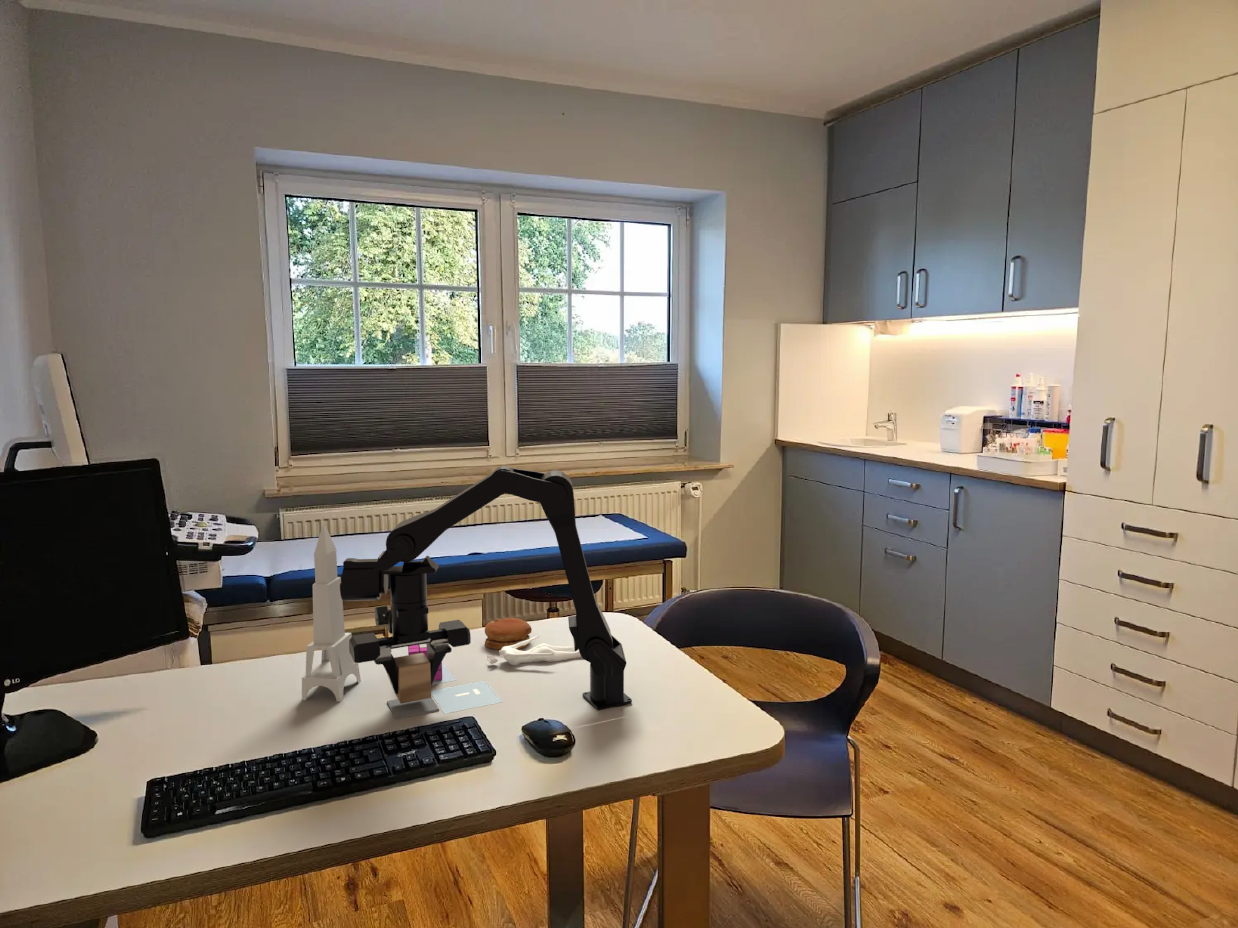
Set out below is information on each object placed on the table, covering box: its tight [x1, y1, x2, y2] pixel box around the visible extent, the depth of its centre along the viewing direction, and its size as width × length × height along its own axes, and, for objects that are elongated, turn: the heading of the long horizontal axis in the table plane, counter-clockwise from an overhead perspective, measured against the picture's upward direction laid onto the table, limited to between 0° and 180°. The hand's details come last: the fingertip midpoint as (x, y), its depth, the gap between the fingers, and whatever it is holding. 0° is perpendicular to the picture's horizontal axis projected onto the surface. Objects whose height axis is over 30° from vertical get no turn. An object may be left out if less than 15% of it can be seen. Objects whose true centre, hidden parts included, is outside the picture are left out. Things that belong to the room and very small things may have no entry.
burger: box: [484, 617, 533, 651], centre depth 164 cm, size 10×9×5 cm
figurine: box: [486, 635, 582, 666], centre depth 156 cm, size 10×4×25 cm
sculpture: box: [301, 522, 362, 703], centre depth 139 cm, size 7×8×30 cm
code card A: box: [431, 680, 504, 715], centre depth 138 cm, size 10×10×1 cm
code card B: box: [431, 662, 457, 686], centre depth 147 cm, size 9×9×1 cm
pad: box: [386, 696, 440, 720], centre depth 134 cm, size 7×7×1 cm
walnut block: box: [393, 653, 432, 704], centre depth 134 cm, size 5×5×6 cm
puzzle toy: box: [407, 643, 443, 681], centre depth 147 cm, size 6×6×6 cm
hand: (412, 689), depth 134 cm, fingers closed on walnut block, 5 cm apart
